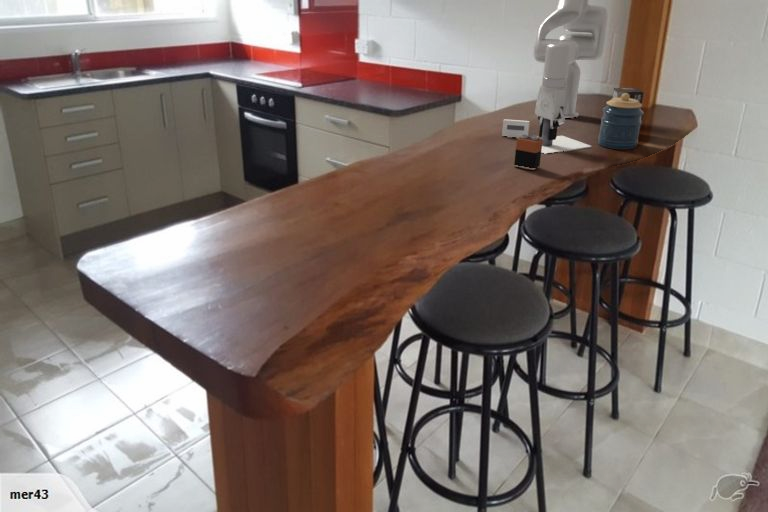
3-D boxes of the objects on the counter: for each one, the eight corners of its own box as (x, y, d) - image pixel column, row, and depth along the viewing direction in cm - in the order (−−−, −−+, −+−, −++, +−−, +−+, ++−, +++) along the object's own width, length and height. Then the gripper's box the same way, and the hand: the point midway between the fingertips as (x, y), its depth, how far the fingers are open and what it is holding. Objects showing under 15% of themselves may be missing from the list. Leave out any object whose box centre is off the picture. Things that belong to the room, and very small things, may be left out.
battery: (534, 171, 184) (537, 139, 180) (513, 167, 188) (516, 135, 183) (539, 167, 188) (543, 135, 183) (519, 163, 191) (522, 132, 187)
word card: (502, 135, 221) (503, 119, 218) (527, 137, 218) (529, 121, 216) (501, 136, 220) (503, 120, 217) (527, 138, 217) (529, 121, 215)
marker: (538, 143, 209) (541, 111, 204) (547, 142, 211) (551, 110, 206) (545, 146, 206) (549, 113, 201) (555, 144, 208) (559, 112, 203)
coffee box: (631, 132, 226) (639, 87, 219) (636, 137, 220) (644, 91, 213) (606, 131, 227) (613, 87, 220) (610, 136, 221) (618, 90, 214)
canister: (596, 148, 207) (604, 95, 199) (598, 138, 218) (606, 88, 210) (637, 152, 203) (647, 98, 195) (636, 142, 214) (646, 90, 206)
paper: (516, 143, 212) (516, 141, 212) (561, 136, 220) (562, 135, 220) (544, 154, 200) (545, 153, 200) (591, 147, 208) (591, 146, 208)
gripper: (528, 79, 205) (523, 133, 213) (562, 88, 191) (554, 145, 199) (546, 77, 208) (540, 131, 216) (580, 86, 194) (572, 143, 202)
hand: (547, 137), depth 207 cm, fingers closed on marker, 3 cm apart
